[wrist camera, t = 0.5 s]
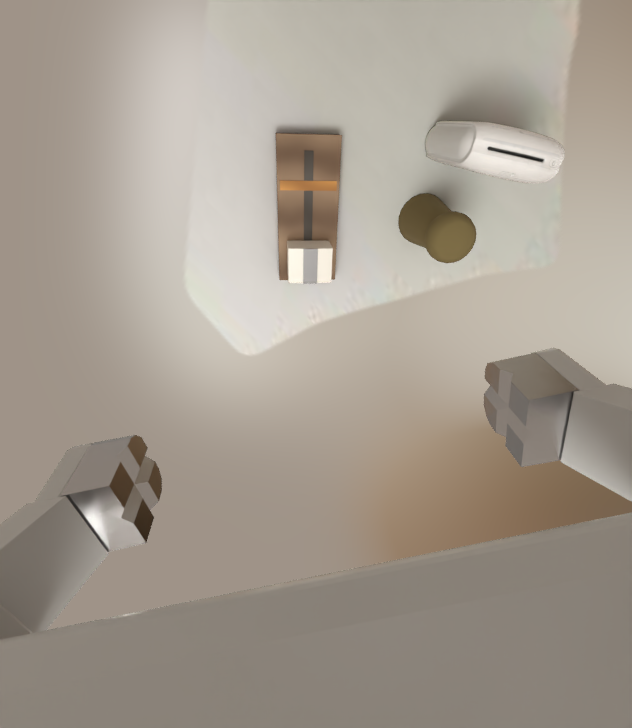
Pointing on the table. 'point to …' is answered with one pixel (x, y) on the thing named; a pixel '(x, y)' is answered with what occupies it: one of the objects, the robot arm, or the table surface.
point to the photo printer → (495, 150)
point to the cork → (437, 228)
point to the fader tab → (309, 261)
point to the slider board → (307, 191)
